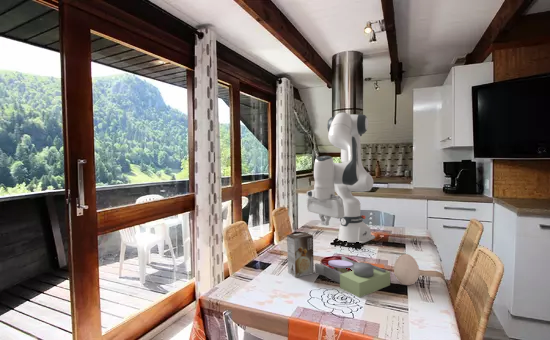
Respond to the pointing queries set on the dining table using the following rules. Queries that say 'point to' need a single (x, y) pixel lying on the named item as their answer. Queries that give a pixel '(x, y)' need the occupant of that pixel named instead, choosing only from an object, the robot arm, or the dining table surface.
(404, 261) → the egg
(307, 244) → the coffee box
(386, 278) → the green block with dome
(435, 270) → the dining table surface
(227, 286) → the dining table surface
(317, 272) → the chute mount
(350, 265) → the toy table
